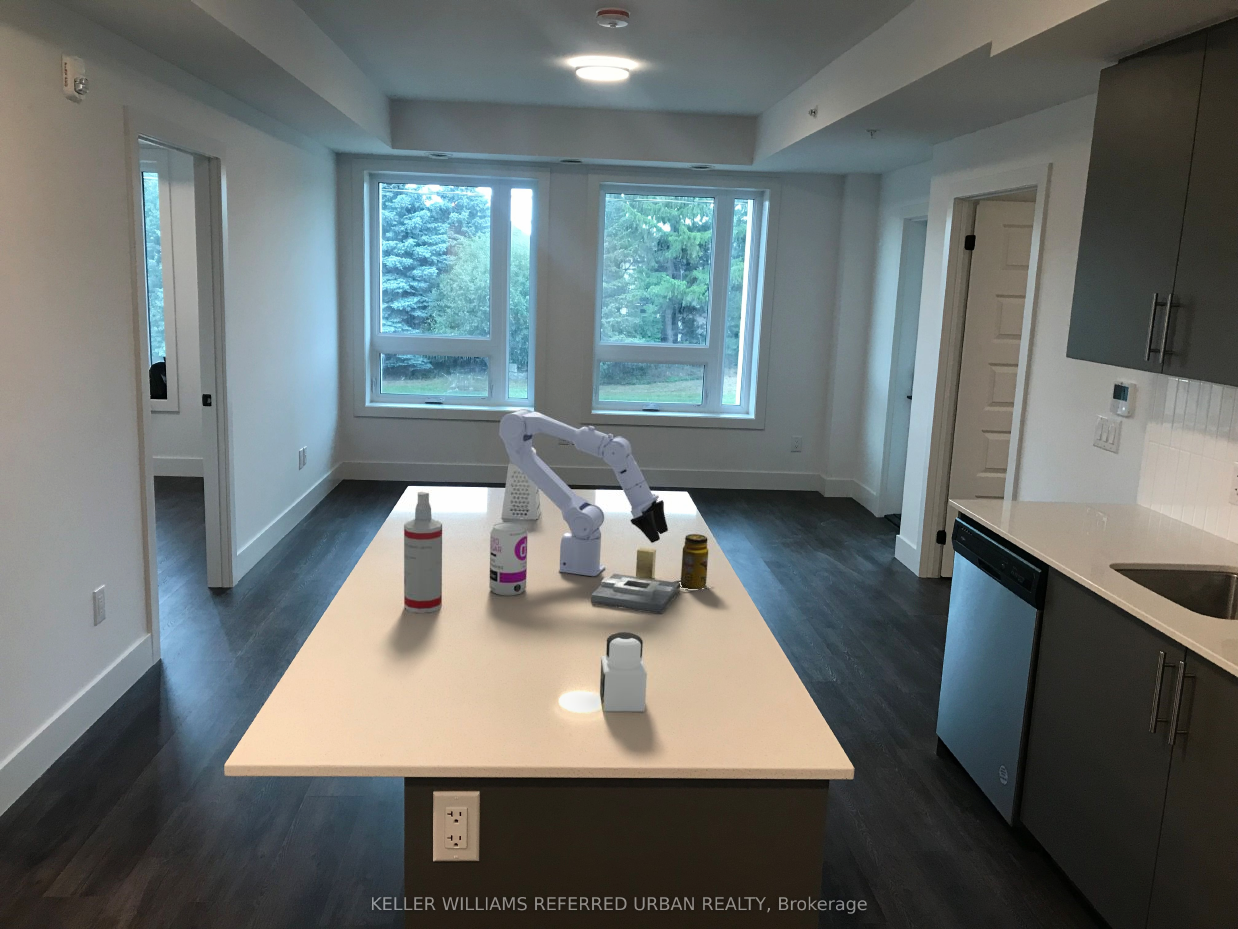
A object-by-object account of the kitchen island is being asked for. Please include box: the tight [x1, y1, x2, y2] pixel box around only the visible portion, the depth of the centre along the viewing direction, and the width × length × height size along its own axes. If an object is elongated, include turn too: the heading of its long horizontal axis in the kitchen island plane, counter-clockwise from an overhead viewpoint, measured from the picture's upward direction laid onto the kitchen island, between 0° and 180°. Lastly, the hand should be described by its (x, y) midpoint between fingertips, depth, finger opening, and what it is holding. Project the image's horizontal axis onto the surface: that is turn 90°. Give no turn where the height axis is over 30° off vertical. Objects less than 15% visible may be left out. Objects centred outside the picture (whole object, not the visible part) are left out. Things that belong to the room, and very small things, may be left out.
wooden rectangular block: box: [635, 547, 657, 579], centre depth 227 cm, size 4×2×7 cm, turn 73°
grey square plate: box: [590, 573, 681, 615], centre depth 213 cm, size 16×16×2 cm
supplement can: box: [489, 521, 529, 597], centre depth 213 cm, size 8×8×15 cm
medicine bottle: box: [599, 631, 648, 713], centre depth 160 cm, size 7×7×12 cm
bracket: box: [600, 577, 673, 596], centre depth 213 cm, size 16×7×1 cm, turn 72°
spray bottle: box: [403, 491, 443, 614], centre depth 199 cm, size 8×8×25 cm
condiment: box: [673, 533, 714, 593], centre depth 222 cm, size 7×8×12 cm
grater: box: [501, 446, 542, 520], centre depth 278 cm, size 10×10×20 cm
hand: (660, 536), depth 224 cm, fingers open, 7 cm apart
